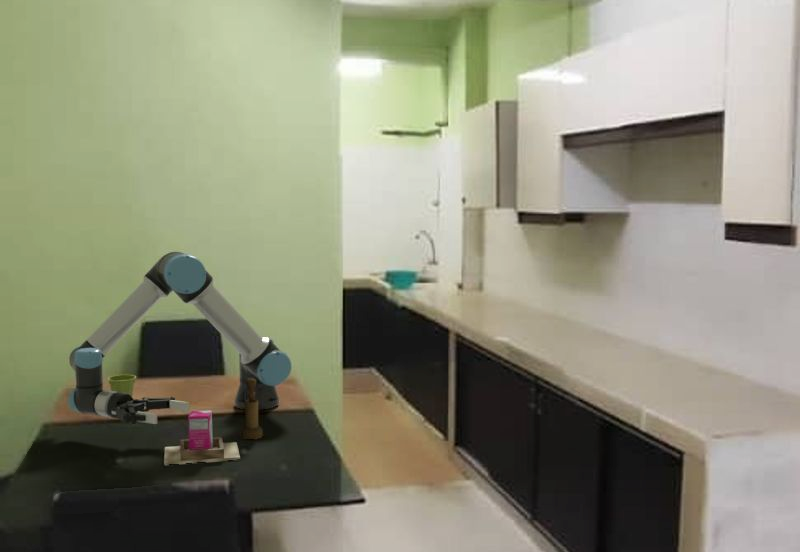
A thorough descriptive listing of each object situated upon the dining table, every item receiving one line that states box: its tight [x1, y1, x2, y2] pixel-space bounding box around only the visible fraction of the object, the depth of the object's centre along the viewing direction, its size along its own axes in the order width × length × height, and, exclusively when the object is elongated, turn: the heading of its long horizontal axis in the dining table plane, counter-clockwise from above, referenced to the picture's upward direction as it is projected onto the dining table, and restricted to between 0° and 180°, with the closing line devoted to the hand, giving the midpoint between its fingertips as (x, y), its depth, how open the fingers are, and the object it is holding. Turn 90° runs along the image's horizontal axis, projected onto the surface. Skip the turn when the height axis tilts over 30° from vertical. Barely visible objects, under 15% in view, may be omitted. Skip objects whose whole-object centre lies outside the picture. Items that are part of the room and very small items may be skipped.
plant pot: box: [107, 374, 137, 397], centre depth 286 cm, size 9×9×9 cm
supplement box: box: [187, 410, 214, 450], centre depth 228 cm, size 6×6×12 cm
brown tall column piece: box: [240, 378, 264, 440], centre depth 247 cm, size 7×6×18 cm
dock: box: [163, 436, 241, 466], centre depth 230 cm, size 20×14×3 cm
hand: (172, 412), depth 233 cm, fingers open, 13 cm apart
